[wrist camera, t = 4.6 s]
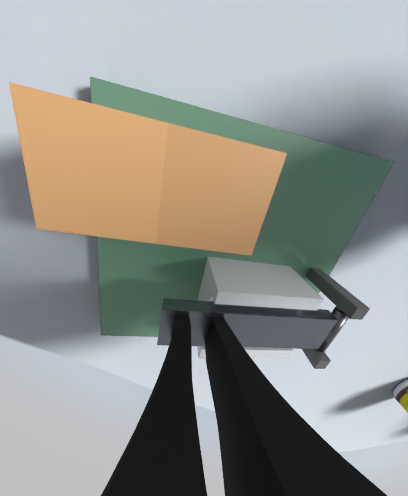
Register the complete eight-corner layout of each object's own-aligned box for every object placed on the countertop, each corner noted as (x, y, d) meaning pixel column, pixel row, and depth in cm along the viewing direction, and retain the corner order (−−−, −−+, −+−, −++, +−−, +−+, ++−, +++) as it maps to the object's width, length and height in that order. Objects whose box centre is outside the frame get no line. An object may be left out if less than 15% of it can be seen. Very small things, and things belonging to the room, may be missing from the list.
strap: (343, 306, 12) (353, 316, 11) (319, 341, 13) (327, 352, 12) (164, 292, 9) (163, 303, 9) (157, 336, 11) (156, 349, 10)
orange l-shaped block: (232, 153, 9) (287, 153, 5) (218, 211, 11) (251, 255, 6) (103, 122, 8) (8, 82, 4) (104, 192, 9) (36, 228, 5)
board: (377, 161, 12) (500, 166, 7) (286, 330, 18) (322, 389, 13) (99, 84, 8) (13, 7, 4) (105, 324, 15) (74, 398, 10)
